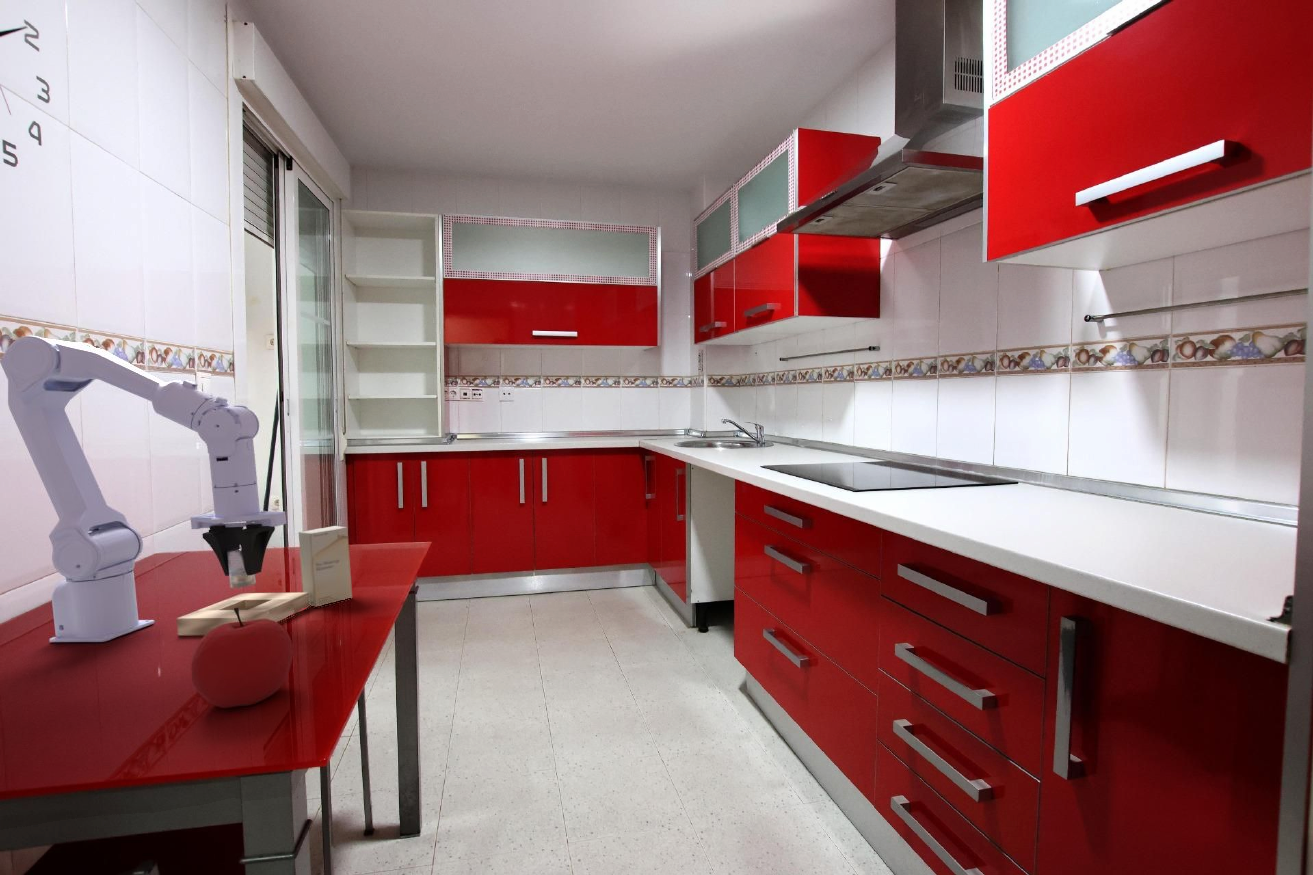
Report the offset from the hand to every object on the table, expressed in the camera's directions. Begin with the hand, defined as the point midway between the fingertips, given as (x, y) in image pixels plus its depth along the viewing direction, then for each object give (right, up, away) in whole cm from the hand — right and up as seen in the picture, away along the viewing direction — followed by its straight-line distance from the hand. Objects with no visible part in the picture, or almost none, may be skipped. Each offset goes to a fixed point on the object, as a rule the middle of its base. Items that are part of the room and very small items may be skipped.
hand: (243, 573), depth 96 cm
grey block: (0, -2, 0) cm, 2 cm away
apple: (+19, -8, -28) cm, 34 cm away
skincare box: (+9, -7, +8) cm, 14 cm away
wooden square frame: (0, -7, 0) cm, 7 cm away
